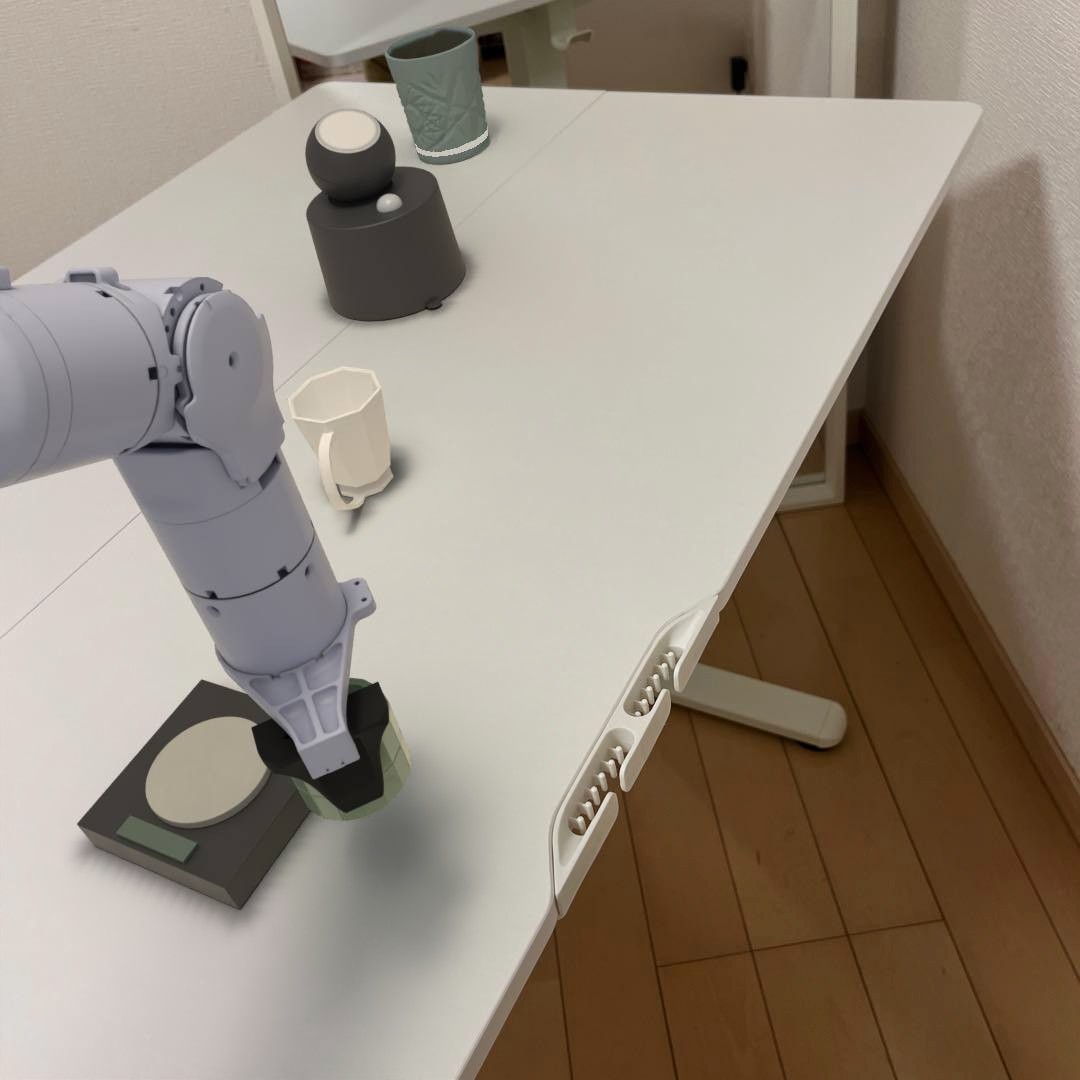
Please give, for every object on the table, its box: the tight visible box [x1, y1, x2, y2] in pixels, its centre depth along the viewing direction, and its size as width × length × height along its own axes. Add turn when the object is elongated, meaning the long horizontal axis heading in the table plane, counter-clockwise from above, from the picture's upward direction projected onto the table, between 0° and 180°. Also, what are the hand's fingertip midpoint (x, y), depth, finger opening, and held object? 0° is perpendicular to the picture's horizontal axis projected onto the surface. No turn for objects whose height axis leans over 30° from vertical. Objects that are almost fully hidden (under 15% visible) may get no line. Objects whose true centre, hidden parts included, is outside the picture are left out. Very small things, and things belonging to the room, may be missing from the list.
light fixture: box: [304, 108, 466, 322], centre depth 101 cm, size 13×16×14 cm
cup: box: [287, 365, 394, 511], centre depth 80 cm, size 7×10×8 cm
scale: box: [76, 678, 311, 910], centre depth 63 cm, size 11×11×3 cm
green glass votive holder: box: [290, 677, 412, 822], centre depth 54 cm, size 6×6×4 cm
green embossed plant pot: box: [384, 25, 490, 165], centre depth 125 cm, size 10×10×12 cm
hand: (345, 752), depth 54 cm, fingers closed on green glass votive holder, 6 cm apart
